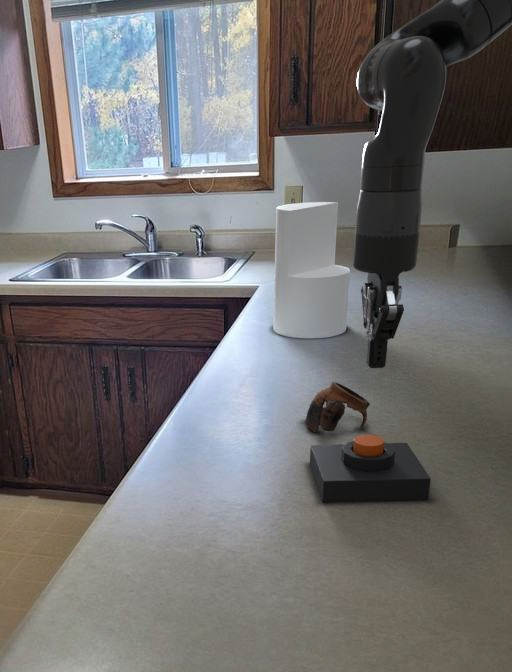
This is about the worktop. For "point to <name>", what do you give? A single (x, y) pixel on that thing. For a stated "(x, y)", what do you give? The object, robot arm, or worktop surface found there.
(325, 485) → the push button base
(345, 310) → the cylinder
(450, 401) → the worktop surface
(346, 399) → the broken clay vessel
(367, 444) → the power button
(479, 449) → the worktop surface
